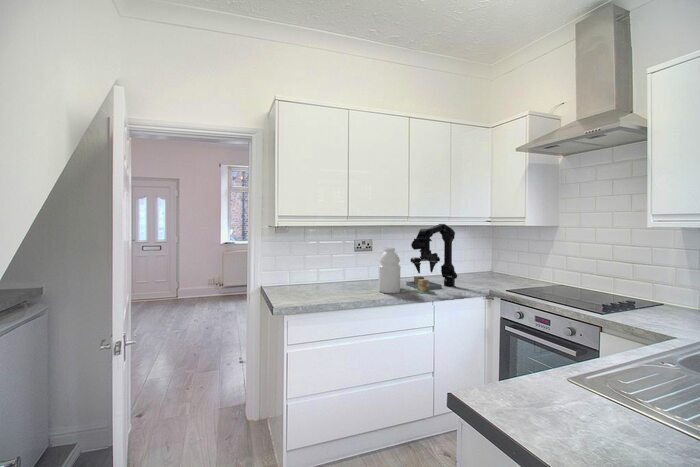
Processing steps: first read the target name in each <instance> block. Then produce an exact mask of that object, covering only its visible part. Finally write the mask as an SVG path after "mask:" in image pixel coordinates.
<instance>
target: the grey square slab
mask: <svg viewBox="0 0 700 467" xmlns="http://www.w3.org/2000/svg"><path fill="white" fill-rule="evenodd" d="M406 286H407V287H410V288H413V289H415V290H418V285H416V284H414V280H413V281H406ZM442 286H443V285H442V284H441V283H440V284H439V283H437V282H433V281H430V280H429V290H438V289H439V290H440V289H441V290H442Z"/></svg>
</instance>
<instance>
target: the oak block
mask: <svg viewBox="0 0 700 467" xmlns="http://www.w3.org/2000/svg"><path fill="white" fill-rule="evenodd" d="M429 281H430V280H429V279H426V278H424V279H419V280H418V289H417V290H418V291H420V292H429V290H430V289H429Z"/></svg>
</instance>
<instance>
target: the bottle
mask: <svg viewBox="0 0 700 467" xmlns="http://www.w3.org/2000/svg"><path fill="white" fill-rule="evenodd" d="M383 250H384V252H383V253H381V255H380V257H379V260H378V261H379V263H380V264H379V265H378V291H379V293H383V294H398V293H400V292H401V266H400V264H399V263H400V262H401V259H400V257H399V254H397V253H396V252H395V251H396V248H395V247H384V249H383Z"/></svg>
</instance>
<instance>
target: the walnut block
mask: <svg viewBox="0 0 700 467" xmlns="http://www.w3.org/2000/svg"><path fill="white" fill-rule="evenodd" d="M419 279H425V277H424V276H421V275H418V276H417V275H416V276H413V281H414V284H416V285H418V280H419Z"/></svg>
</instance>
